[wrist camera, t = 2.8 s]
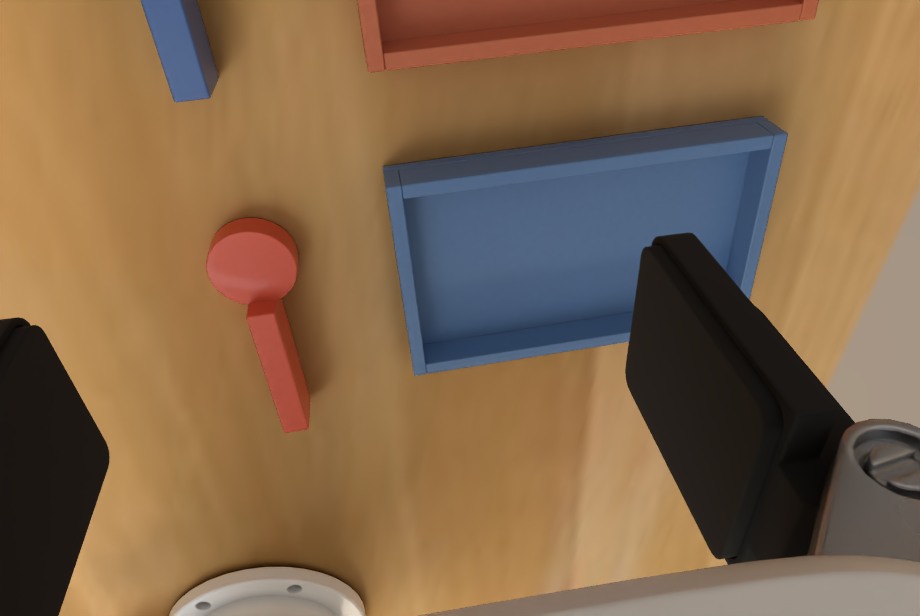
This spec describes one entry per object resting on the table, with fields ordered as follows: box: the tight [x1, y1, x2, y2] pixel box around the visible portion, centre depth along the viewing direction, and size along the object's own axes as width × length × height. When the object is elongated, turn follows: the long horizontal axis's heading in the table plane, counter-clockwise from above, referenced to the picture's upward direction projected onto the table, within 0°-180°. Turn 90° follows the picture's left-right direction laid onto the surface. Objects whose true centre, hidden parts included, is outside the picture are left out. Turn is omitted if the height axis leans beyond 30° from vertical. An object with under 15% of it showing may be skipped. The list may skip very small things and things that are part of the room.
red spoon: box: [206, 218, 310, 433], centre depth 30 cm, size 10×4×2 cm, turn 4°
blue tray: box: [383, 116, 788, 376], centre depth 30 cm, size 16×10×2 cm, turn 94°
